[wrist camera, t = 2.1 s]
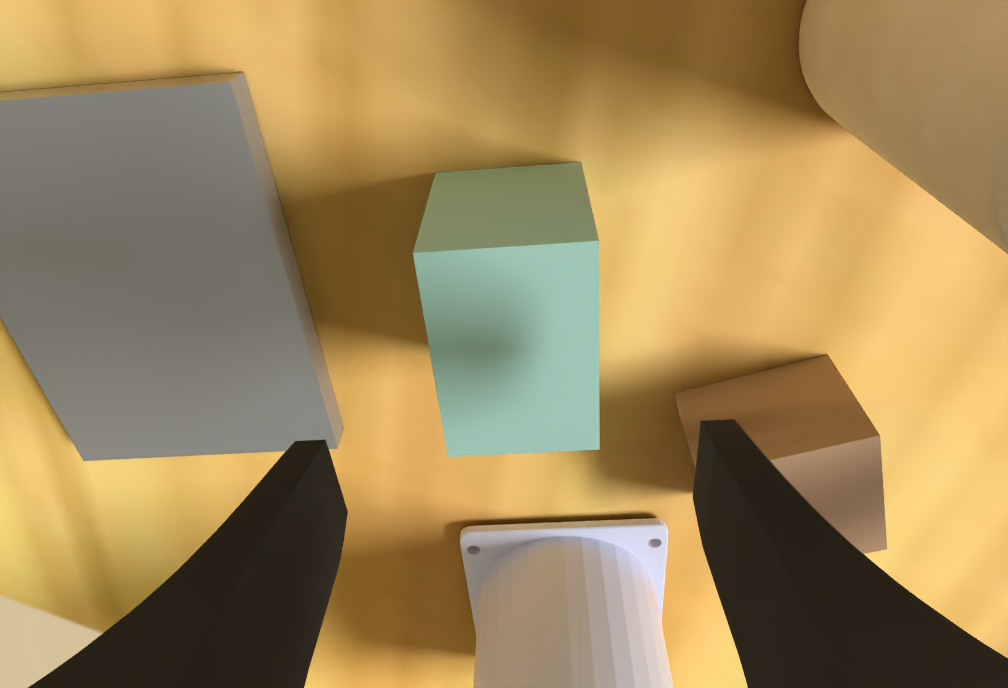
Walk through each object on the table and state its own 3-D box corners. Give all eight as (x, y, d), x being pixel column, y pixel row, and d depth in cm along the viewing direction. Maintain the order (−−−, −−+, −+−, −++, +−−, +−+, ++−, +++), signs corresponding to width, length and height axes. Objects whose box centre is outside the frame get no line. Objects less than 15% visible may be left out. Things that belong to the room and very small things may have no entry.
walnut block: (837, 459, 25) (887, 549, 21) (699, 490, 26) (726, 580, 22) (826, 352, 22) (880, 435, 19) (672, 390, 23) (698, 476, 20)
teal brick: (584, 342, 22) (599, 449, 18) (460, 349, 22) (448, 456, 18) (580, 160, 19) (599, 240, 15) (435, 171, 19) (412, 252, 15)
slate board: (343, 428, 24) (337, 448, 23) (98, 441, 25) (83, 460, 24) (244, 72, 17) (229, 81, 17) (-91, 99, 18) (-120, 110, 17)
